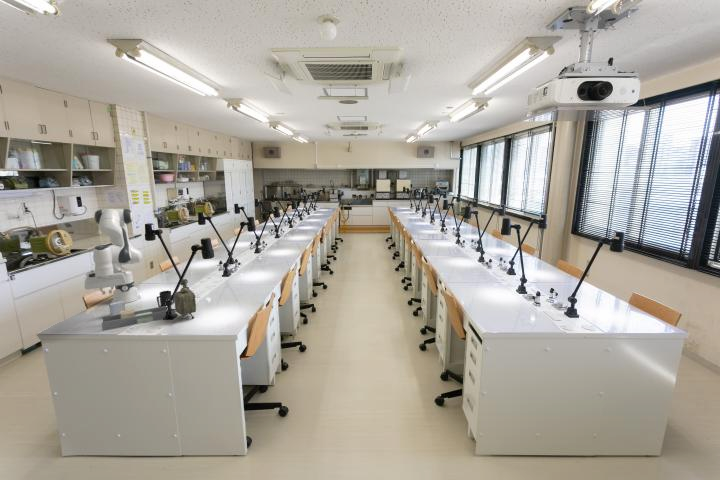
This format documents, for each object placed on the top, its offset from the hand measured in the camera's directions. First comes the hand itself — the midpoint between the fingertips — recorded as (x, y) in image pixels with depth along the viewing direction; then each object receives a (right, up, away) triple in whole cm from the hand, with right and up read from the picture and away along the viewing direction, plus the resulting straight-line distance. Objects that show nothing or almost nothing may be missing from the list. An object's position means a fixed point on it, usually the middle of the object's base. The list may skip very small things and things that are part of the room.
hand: (107, 293), depth 204 cm
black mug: (+16, -16, +32) cm, 40 cm away
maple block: (+7, -17, +8) cm, 20 cm away
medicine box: (-8, -18, +21) cm, 29 cm away
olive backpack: (+39, -19, +18) cm, 47 cm away
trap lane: (+11, -20, +11) cm, 25 cm away
